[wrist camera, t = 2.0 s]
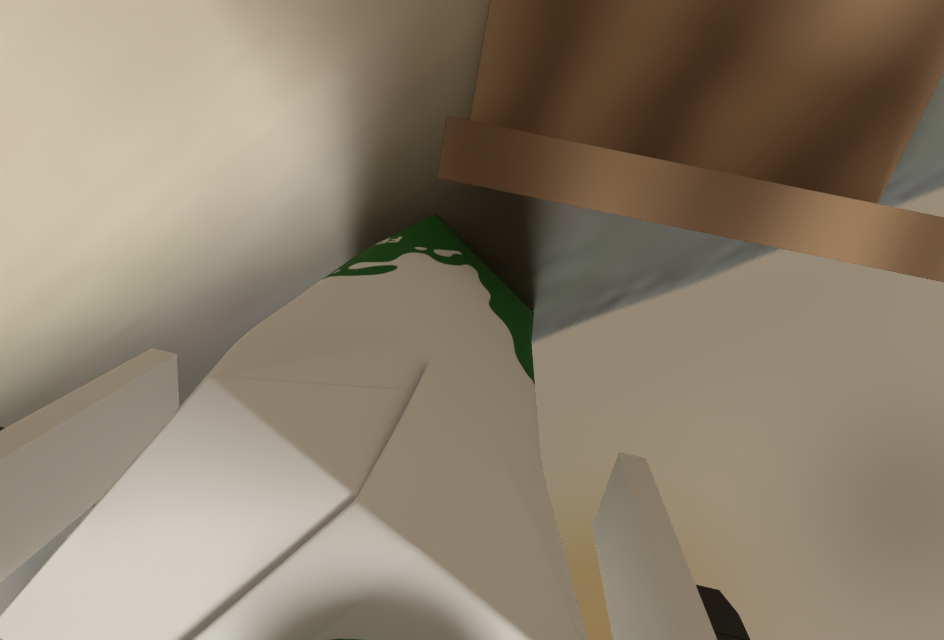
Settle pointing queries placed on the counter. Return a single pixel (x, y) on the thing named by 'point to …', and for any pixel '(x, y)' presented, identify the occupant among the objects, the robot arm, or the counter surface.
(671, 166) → the u rest
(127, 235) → the counter surface
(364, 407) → the soya milk
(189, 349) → the counter surface
